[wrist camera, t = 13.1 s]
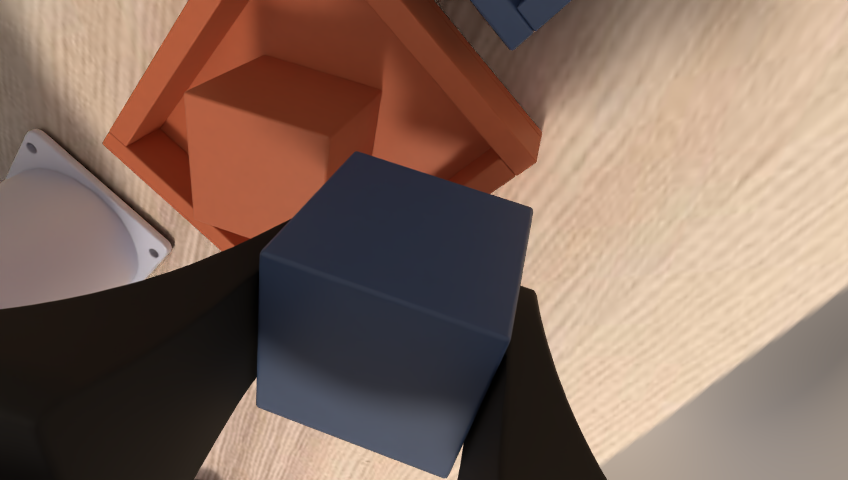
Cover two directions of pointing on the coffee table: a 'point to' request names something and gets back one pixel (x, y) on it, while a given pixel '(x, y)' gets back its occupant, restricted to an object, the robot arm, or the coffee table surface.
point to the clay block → (271, 140)
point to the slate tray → (517, 17)
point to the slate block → (389, 309)
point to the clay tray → (343, 57)
